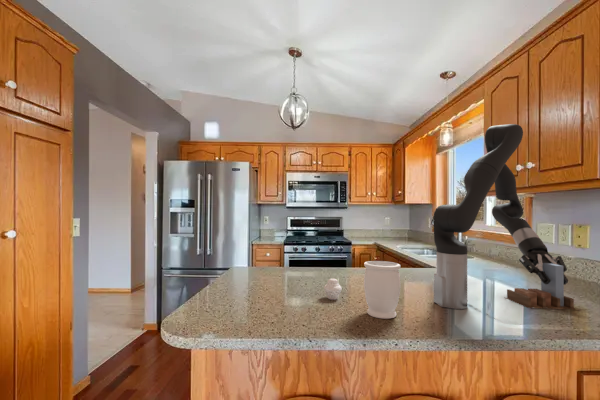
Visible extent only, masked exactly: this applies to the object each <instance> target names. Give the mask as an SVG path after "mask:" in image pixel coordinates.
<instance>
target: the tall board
mask: <svg viewBox="0 0 600 400" xmlns="http://www.w3.org/2000/svg"><path fill="white" fill-rule="evenodd" d="M542 267H543V272H545V273H546V275H547V276H548V278H549V279H550V283H549V284H544V283H543V282H542V281H541V280H540V281H541V282H540V287H541V288H540V290H542V291H545V292H548V293H551V296H554V297H557V298H560V306H564V296H565V290H564V289H565V285H564V275H565V272H564V273H563V266H561V265H556V264H551V263H543V266H542Z"/></svg>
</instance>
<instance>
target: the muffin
mask: <svg viewBox="0 0 600 400" xmlns="http://www.w3.org/2000/svg"><path fill="white" fill-rule="evenodd" d="M323 290H324V292H325V295H326V297H327V298H328V300H330V301H331V300H332V301H333V300H334V301H335V300H338V299H339V296H340V295H341V293H342V290H343V288H342V285H340V283H339V280H338V279H336V278H329V279H328V280H327V283H326V284H325V285H324V287H323Z"/></svg>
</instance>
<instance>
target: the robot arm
mask: <svg viewBox="0 0 600 400" xmlns="http://www.w3.org/2000/svg"><path fill="white" fill-rule="evenodd" d="M523 138H524V131H523V127H522V126H521V125H519V124H517V123H509V124H507V123H506V124H499V125H498V124H497V125H492V126H489V127H488V128H487V129H486V131H485V133H484V143H485V148H486V153H485V154H484V155H482V156H481V157H479V158H477V159H475V160H474V162H472V164H471V165H470V167H469V168H468V170H467V171H466V173H465V175H464V177H463V183H464V184H463V185H464V189H465V192H466V193H465V195H464V197H463V199H462V200H461V202H460V203H459V204H441V205H438V206H437V207H436V208H435V210H434V213H433V222H432V225H433V241H434V245H435V248H436V249H435V250H436V265H435V266H436V273H433V302H434V303H435V304H437V305H438V306H440V307H441V308H449V309H456V310H463V309H467V308H468V246H467V245H466V244H465V243H464V242H462V241H460V240H458V239H457V238H456V236H455V233H457V234H458V233H460V234H463V233H467V232H469V231H470V229H471V228H472V226H473V225H474V223H475V221H476V219H477V216H478V214H479V212H480V209H481V207H482V205H483V203H484V201H485V199H486V197H487V195H488V194H489V191H490V190H491V189H492V187H493V185H494V190H495V198H497V199H496V200H499V201H509V202H506V203H500V204H495V205H494V206H493V207H492V209H491V214H492V217H493V219H494V220H496V222H498V223H499V224H500V225H501V226H503V227H504V228H505V229H506V230H507V231H508V232H509V234H510V236H511V238H512V239H513V240H514V243H515V245H516V246H517V248H518V249H519V252H521V254H522V255H521V257H520V258H519V259H518V261H519V262H520V264H521V265H523V267H524V268H525V270H527V272H529V273H530V274H535V275H537V276H538V278H539V279H540V281H542V282H543V283H544V284H549V283H550V279H549V278H548V276H547V275H546V273H545V272H543V267H542V266H543V263H551V264H556V265H561V266H563V273H564V286H566V285H567V284H568V283H569V279H568V278H567V276H566V275H565V272H567V271H568V268H567V266H566V264H565V262H564V259H563V258H562V256H559V255H557V256H556V257H555V256H552V255H551V254H550V253H549V252H548V247H547V245H546V244H545V243H544V242H543V241H542V238H540V236H539V234H537V232H536V231H535V230H534V229H533V228H532V227H531V225H530V224H529V223H528V222H527V220H526V219H525V218H521V217H523V215H524V208H523V206H522V203H521V201H520V199H519V196H518V192H517V179H516V176H515V174H514V172H513V171H512V170H511V169H510V167H509V166H508V165H507V162H508V161H509V159H511V156H513V154H514V153H515V151H516V150H517V149H518V148H519V146H520V144H521V143H522V140H523Z"/></svg>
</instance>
